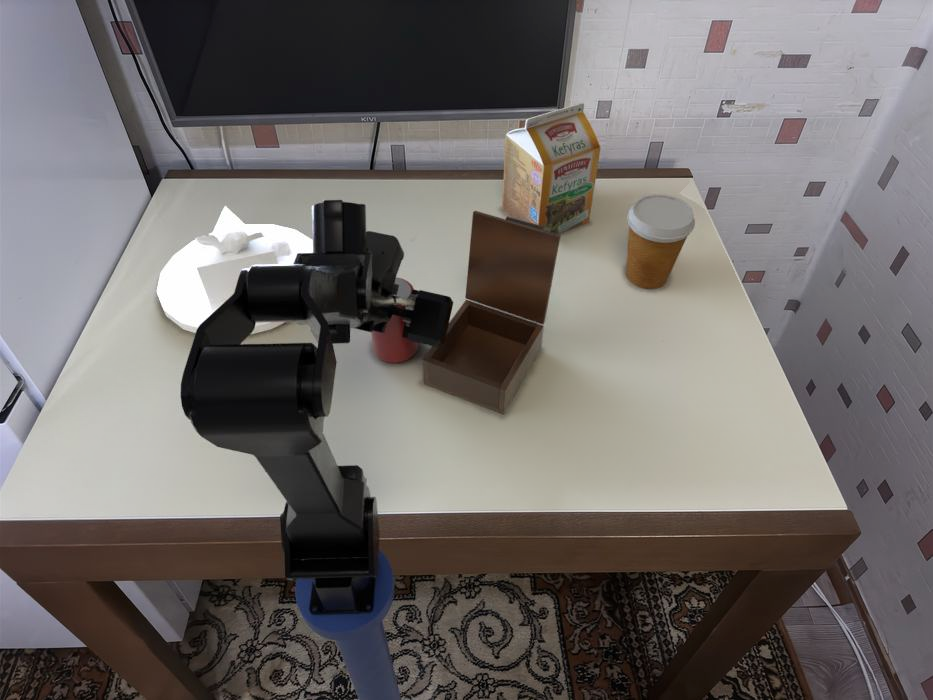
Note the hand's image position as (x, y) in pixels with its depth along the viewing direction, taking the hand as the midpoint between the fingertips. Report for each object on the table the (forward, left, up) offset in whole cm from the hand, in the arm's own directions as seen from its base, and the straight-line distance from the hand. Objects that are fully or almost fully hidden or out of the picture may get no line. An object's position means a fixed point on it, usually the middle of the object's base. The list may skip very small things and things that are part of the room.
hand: (396, 309), depth 90 cm
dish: (+14, +24, -6) cm, 29 cm away
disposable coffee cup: (+13, -38, -6) cm, 40 cm away
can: (-1, 0, -6) cm, 6 cm away
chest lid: (+1, -15, +6) cm, 16 cm away
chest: (-5, -12, -6) cm, 14 cm away
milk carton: (+29, -24, -6) cm, 38 cm away
